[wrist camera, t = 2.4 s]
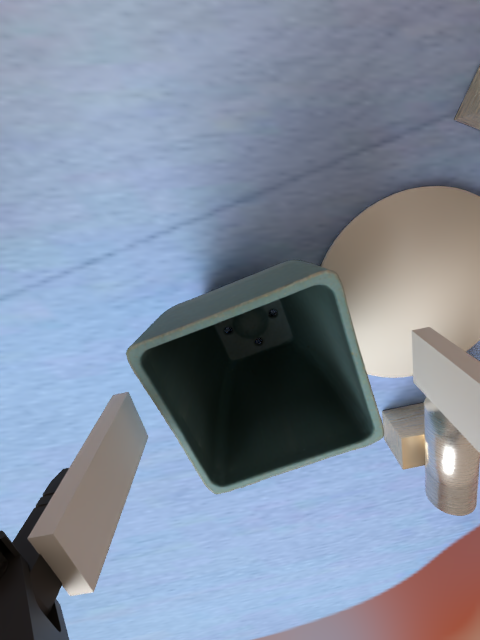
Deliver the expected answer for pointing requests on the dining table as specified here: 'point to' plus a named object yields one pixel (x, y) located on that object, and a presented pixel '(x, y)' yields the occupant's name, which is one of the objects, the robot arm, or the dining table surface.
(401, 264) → the seat pad
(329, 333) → the flower pot
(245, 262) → the dining table surface
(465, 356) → the robot arm
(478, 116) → the shaft
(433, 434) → the shaft
